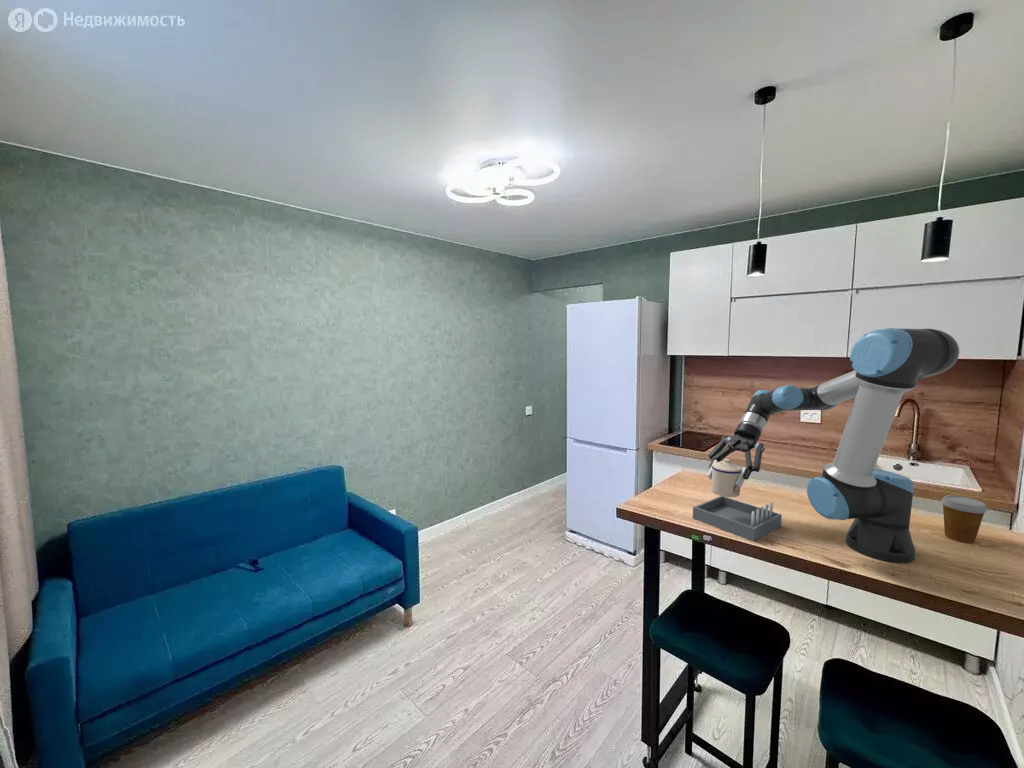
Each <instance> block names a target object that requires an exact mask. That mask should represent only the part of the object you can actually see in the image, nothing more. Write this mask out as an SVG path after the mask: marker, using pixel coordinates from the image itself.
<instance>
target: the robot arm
mask: <svg viewBox="0 0 1024 768" xmlns="http://www.w3.org/2000/svg"><path fill="white" fill-rule="evenodd" d="M959 355H960V347H959V344H958V342H957V341H956V339H955V338H954V337H953V336H952V335H951V334H948V333H947V332H945V331H942V330H940V329H935V328H895V327H891V328H882V329H875V330H871V331H869V332H867V333H866V334H863V335H862V336H861V337H859V338H858V339H857V340H856V342H855V343H854V344H853V346H852V348H851V351H850V355H849V360H850V362H851V363H852V364H851V367H852V368H853V370H852V371H850V372H849V371H848V372H847V373H845V374H843V375H840V376H837V377H835V378H832V379H829V380H827V381H825V382H822V383H820V384H819V385H815V386H813V387H801V388H800V387H796V386H794V385H791V384H789V385H788V384H787V385H783V386H780V387H777V388H776V389H773V390H766V389H759V390H757V391H756V392H754V394H753V396H752V397H751V399H750V401H749V403H748V406H747V408H746V409H745V411H744V413H743V415H742V416H741V418H740V421H739V422H738V425H737V426H736V429H735V430H734V433H733V435H732V436H730V437H727V436H726V435H722V437H721V439H720V441H719V442H717V445H715V447H714V448H713V449H712V450H711V452H710V453H708V459H710V463H709V465H708V468H709V469H708V471H707V474H706V477H707V478H708V479H709V480H710V481H712V465H713V464H714V463H717V462H721V461H723V460H724V459H726V458H727V456H729V455H731V454H733V453H734V452H736V451H737V452H742V453H744V456H745V457H744V458H745V466H746V467H745V466H744V467H742V471H741V473H740V475H739V477H738V479H737V481H736V485H737V487H738V488H740V489H742V487H743V484H744V482H745V480H746V481H747V480H748V479H749V478H750V477H751V474H752V473H753V472H756V473H759V472H760V470H761V464H762V457H763V452H764V451H765V450H766V448H765V446H764V443H763V442H760V443H758V441H759V439H760V437H761V436H762V433H763V431H764V429H765V427H766V425H767V422H768V421H769V418H770V417H771V416H773V415H776V414H777V415H778V414H779V413H782V412H788V411H789V412H790V411H792V412H793V411H794V412H795V411H826V410H831V409H834V408H835V407H836V406H837V405H838V404H840V403H842V402H845V401H848V400H852V399H854V401H853V404H852V407H851V410H850V412H849V414H848V419H847V421H846V424H845V427H844V428H843V429H844V430H843V432H842V436H841V438H840V441H839V445H838V447H837V450H836V453H835V456H834V459H833V461H832V462H828V463H826V464H825V465H824V467H823V469H822V470H823V471H822V473H821V475H820V476H816V477H813V478H811V479H810V480H809V481H808V483H807V486H806V496H807V499H808V500H809V502H810V505H811V507H813V509H814V510H815V512H817V514H819V515H820V516H822V517H823V518H826V519H828V520H833V521H834V520H835V521H836V520H838V521H844V520H845V521H846V520H853V521H852V523H851V525H850V526H849V528H848V529H847V531H846V534H845V543H846V545H847V546H848V547H850V548H851V549H852V550H855V551H856V552H859V553H860V554H862V555H865V556H868V557H871V558H873V559H878V560H881V561H886V562H890V563H891V562H892V563H902V564H904V563H905V564H907V563H912V562H913V561H915V559H916V548H915V545H914V542H913V538H912V535H911V533H910V523H911V515H912V507H913V497H914V494H915V492H914V482H913V481H912V479H910V477H907V476H905V475H902V474H899V473H896V472H892V471H888V470H885V469H884V470H883V469H880V468H879V469H878V468H876V465H877V463H878V460H879V457H880V455H881V452H882V450H883V447H884V445H885V442H886V439H887V436H888V434H889V431H890V429H891V427H892V424H893V422H894V420H895V419H894V418H895V416H896V415H897V410H898V409H899V406H900V403H901V400H902V398H903V395H904V393H906V392H909V391H912V390H914V389H915V387H916V385H917V382H918V381H919V380H920V381H921V380H923V379H927V378H929V377H930V378H931V377H933V376H936V375H939V374H941V373H942V374H943V373H944V372H947V371H948V370H950V369H951V368H952V367H953V366H954V365H955V364H956V363H957V361H958V359H959ZM753 449H755V452H754V460H752V453H751V450H753ZM752 461H753V462H752Z"/></svg>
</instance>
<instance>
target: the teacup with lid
mask: <svg viewBox="0 0 1024 768" xmlns="http://www.w3.org/2000/svg"><path fill="white" fill-rule="evenodd" d="M742 469H743V467H741V466H739V465H738V464H735V463H734V462H732V461H731V459H730V458H724V459H723V460H721V461H720V462H717V463H714V464H713V465H712V480H711V485H710V491H711V493H713V494H715V495H718V496H724V497H727V498H736V497H738V496H740V495H741V488H738V487H737V485H736V481H737V479H738V477H739V475H740V473H741V471H742Z"/></svg>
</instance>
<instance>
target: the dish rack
mask: <svg viewBox="0 0 1024 768" xmlns="http://www.w3.org/2000/svg"><path fill="white" fill-rule="evenodd" d="M773 507H774V502H769V504H765V507H764V506H761V507H759V506H755V505H752V504H749V503H747V502H743V501H740V500H737V499H733V498H732V497H724V496H720V495H718V496H717V497H714V498H712V499H709V500H707V501H705V502H702V503H699V504H697V505H695V506H693V508H692V519H693V518H694V519H693V520H696V521H698V520H699V521H698V522H701V521H702V522H701V523H704V524H706V523H707V525H709V526H711V525H712V526H711V527H714V526H715V527H714V528H716V529H719V528H720V530H722V531H724V530H725V532H728V533H730V534H732V533H733V534H732V535H735V536H738V537H740V536H741V537H740V538H743V539H745V538H746V539H745V540H748V541H751V542H754V543H755V541H757V540H759V539H761V538H763V537H765V536H766V535H768V534H770V533H771V532H773V531H775V530H777V529H779V528H781V526H782V515H783V514H781V513H777V512H775V511H774V510H773V509H774V508H773Z"/></svg>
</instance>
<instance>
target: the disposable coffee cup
mask: <svg viewBox="0 0 1024 768" xmlns="http://www.w3.org/2000/svg"><path fill="white" fill-rule="evenodd" d="M940 501H941V503H942V504H941V505H942V510H943V527H944V536H945V535H946V536H947V537H946V536H945V537H946V538H948V537H949V538H948V539H950V538H951V539H950V540H953V539H954V540H953V541H956V540H958V541H957V542H960V541H962V542H961V543H965V542H969V543H968V544H973V543H972V542H974V543H975V542H976V539H977V536H978V533H979V530H980V528H981V523H982V521H983V518H984V514H985V513H986V512H987V511H988V508H987V507H986V503H984V502H983V501H980V500H978V499H974V498H970V497H966V496H962V495H961V496H959V495H951V494H949V495H944V496H943V498H942V499H941V500H940Z"/></svg>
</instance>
